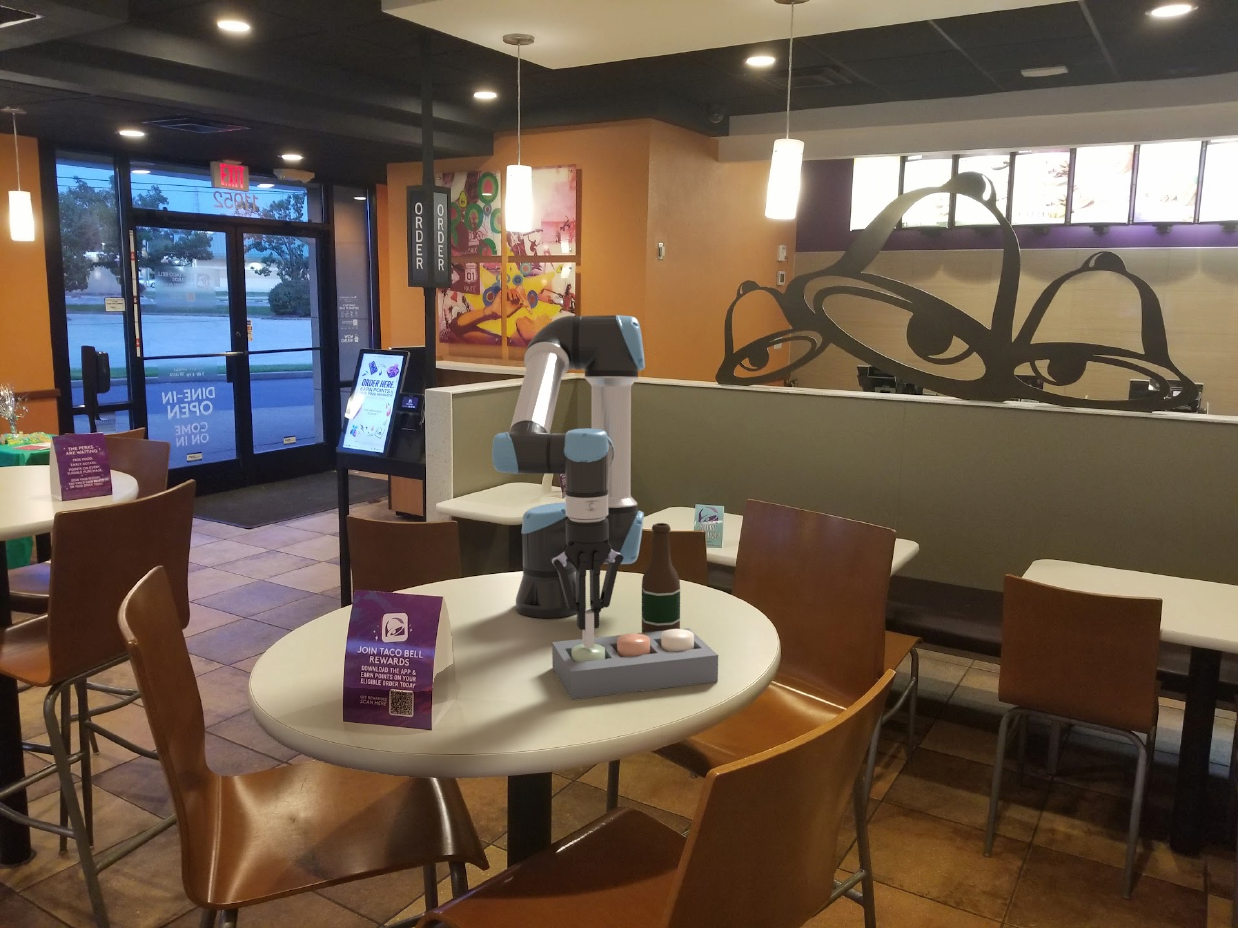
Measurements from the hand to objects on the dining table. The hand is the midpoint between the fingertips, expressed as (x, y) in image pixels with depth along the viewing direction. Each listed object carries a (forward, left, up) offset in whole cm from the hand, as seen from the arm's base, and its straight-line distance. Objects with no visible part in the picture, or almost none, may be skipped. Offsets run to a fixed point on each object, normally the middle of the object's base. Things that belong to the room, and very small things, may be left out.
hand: (588, 645), depth 169 cm
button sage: (0, 0, -5) cm, 5 cm away
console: (0, +8, -6) cm, 11 cm away
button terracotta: (0, +8, -4) cm, 9 cm away
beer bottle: (-15, +19, -7) cm, 25 cm away
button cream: (0, +17, -4) cm, 17 cm away
